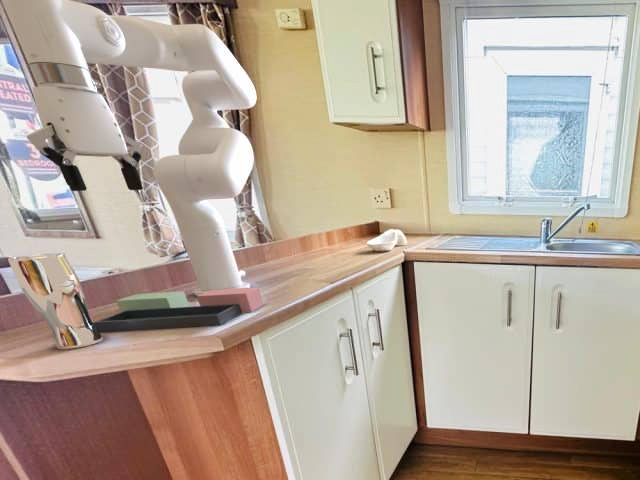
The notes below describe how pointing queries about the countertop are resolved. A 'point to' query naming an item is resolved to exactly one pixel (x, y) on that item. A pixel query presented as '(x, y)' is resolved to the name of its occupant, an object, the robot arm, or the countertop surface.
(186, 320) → the frame
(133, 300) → the pad sage
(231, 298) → the pad rose
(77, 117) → the robot arm
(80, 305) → the chrome vase
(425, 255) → the countertop surface
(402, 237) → the spoon rest
